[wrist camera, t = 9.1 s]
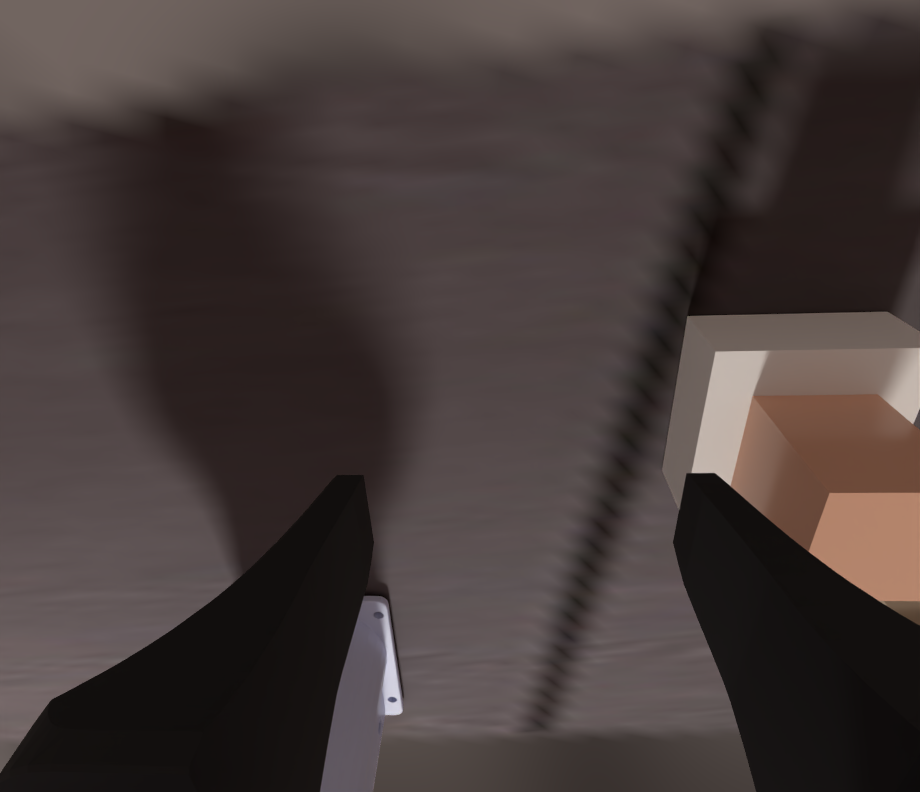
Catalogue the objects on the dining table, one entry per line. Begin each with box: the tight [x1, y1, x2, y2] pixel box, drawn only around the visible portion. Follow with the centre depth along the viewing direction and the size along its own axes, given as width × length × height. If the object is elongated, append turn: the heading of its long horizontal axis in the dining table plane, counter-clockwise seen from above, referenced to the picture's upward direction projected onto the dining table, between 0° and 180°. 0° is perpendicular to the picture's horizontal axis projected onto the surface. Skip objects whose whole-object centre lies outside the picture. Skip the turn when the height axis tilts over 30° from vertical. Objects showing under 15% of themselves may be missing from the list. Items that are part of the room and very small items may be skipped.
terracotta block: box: [731, 394, 920, 601], centre depth 18 cm, size 4×4×5 cm
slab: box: [662, 312, 920, 509], centre depth 21 cm, size 7×7×3 cm
